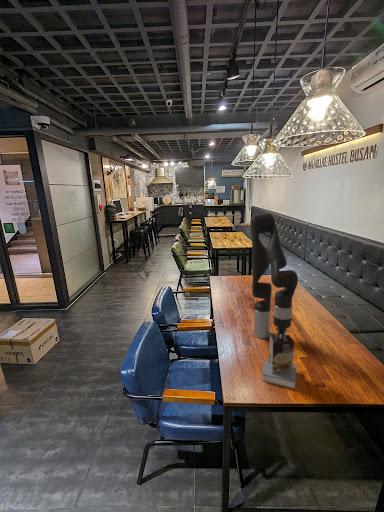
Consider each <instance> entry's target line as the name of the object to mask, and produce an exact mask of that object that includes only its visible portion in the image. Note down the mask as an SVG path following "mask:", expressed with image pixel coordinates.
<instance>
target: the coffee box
mask: <svg viewBox="0 0 384 512" xmlns="http://www.w3.org/2000/svg"><path fill="white" fill-rule="evenodd" d="M279 343H282V342H279ZM283 345H284V346H283V353H282V354H281V353H278V352H277V348H278V347H277V334H269V349H268V359H269V367H270V370H271V373H286V374H292V364H294V363H293V362H294V347H295V342H294V339H293V338H292V337H291V336H290V334H286V335H285V341H284V344H283Z"/></svg>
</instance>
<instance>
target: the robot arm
mask: <svg viewBox="0 0 384 512" xmlns="http://www.w3.org/2000/svg"><path fill="white" fill-rule="evenodd" d="M278 232H279V231H278V228H277V225H276V221H275V217H274V216H273V214H271V213H262V214H256V215H253V216H251V218H250V235H251V262H252V263H251V264H252V267H251V269H252V281H251V282H252V284H251V285H252V286H251V294H252V297H253V298H256V299H262V300H259V301H256V302H254V306H253V307H254V308H253V309H254V310H253V336H254V337H255V338H258V339H263V340H264V339H268V338H270V335H271V334H270V333H271V308H272V307H271V301H272V291H273V287H272V285H273V286H274V287H275V288H278V289H279V288H280V290H278V291H276V292H275V293H274V304H273V305H274V306H273V317H272V320H273V321H272V323H273V325H274V326H275V327H276V328H277V329H276V335H277V347H278V348H277V352H278V353H281V354H282V353H283V346H284V345H283V344H284V341H285V335H287V331H288V330H287V329H288V328H291V327H292V320H293V319H292V316H293V308H292V306H293V305H292V304H293V296H294V293H295V291H296V289H297V286H298V283H299V276H298V274H297V273H296V271H295V270H292V269H287V270H283V268H285V267H286V266H287V264H288V261H287V259H286V256H285V254H284V251H283V248H282V246H281V242H280V238H279V233H278ZM266 233H269V235H270V238H269V241H268V244H267V247H266V246H265V245H264V244H263V243H262V241H261V240H260V234H266ZM269 268H270V279H271V283H270V282H261V281H260V279H261V277H262V276H263V275H264V274H265V273H266V272H267V271H268V269H269ZM279 342H282V343H279Z"/></svg>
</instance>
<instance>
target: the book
mask: <svg viewBox="0 0 384 512" xmlns="http://www.w3.org/2000/svg"><path fill="white" fill-rule="evenodd" d="M261 376H262V378H261V381H262V382H265V383H270V384H273V385H277V386H281V387H285V388H287V389H292V390H296V383H297V364H295V363H293V364H292V374H286V373H271V370H270V367H269V357H268V358H267V357H266V358H265V360H264V365H263V369H262V373H261Z"/></svg>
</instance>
